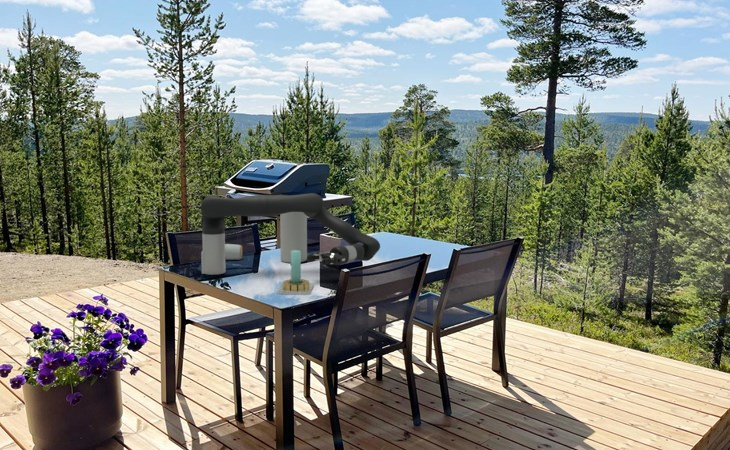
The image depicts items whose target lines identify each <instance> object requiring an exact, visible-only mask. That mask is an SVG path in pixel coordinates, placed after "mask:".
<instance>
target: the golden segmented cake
mask: <svg viewBox="0 0 730 450" xmlns="http://www.w3.org/2000/svg"><path fill="white" fill-rule="evenodd" d="M314 285H315V284H314V282H310V281H309V280H308V279H304V278H303V279H302V278H301V283H299V284H292V283H291V278H289V279H285V280H283V281H282V284H281V286H280V287H279V288H278V290H277V293H276V294H277V295H309V296H310V295H311V293H312V290H313V288H314Z"/></svg>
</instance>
